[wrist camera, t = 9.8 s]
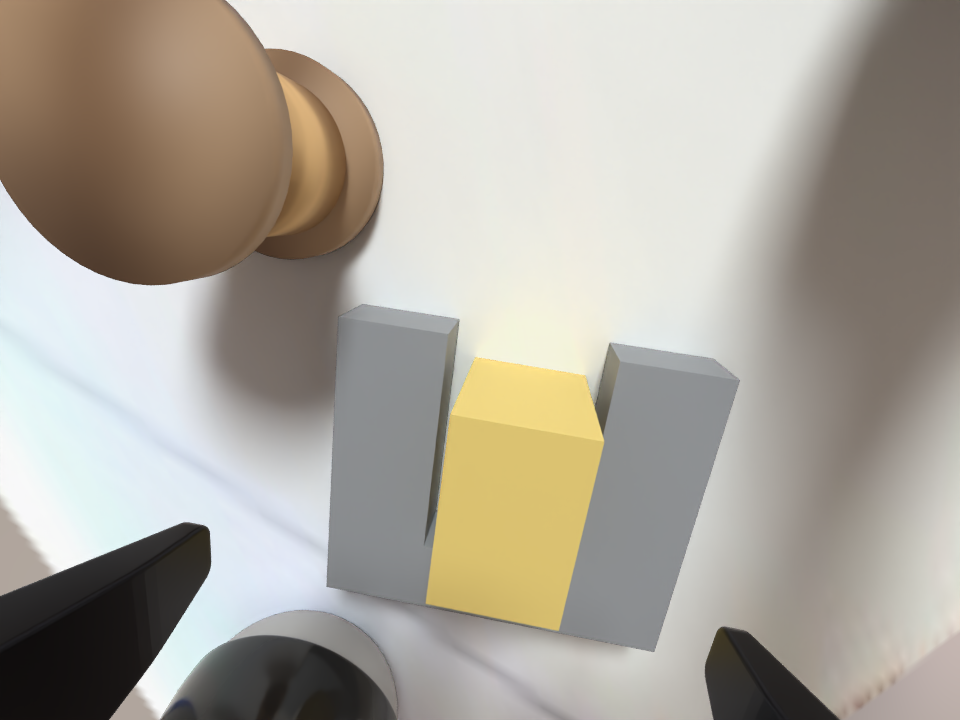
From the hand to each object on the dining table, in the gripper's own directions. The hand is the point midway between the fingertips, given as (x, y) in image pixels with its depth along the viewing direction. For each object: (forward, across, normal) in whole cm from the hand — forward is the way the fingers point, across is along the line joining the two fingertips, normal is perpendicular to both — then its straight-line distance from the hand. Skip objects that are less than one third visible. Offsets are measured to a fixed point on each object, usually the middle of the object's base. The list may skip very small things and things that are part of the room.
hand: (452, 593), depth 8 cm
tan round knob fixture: (+12, +9, -7) cm, 17 cm away
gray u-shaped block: (+12, -1, +4) cm, 13 cm away
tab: (+12, -1, +3) cm, 13 cm away
